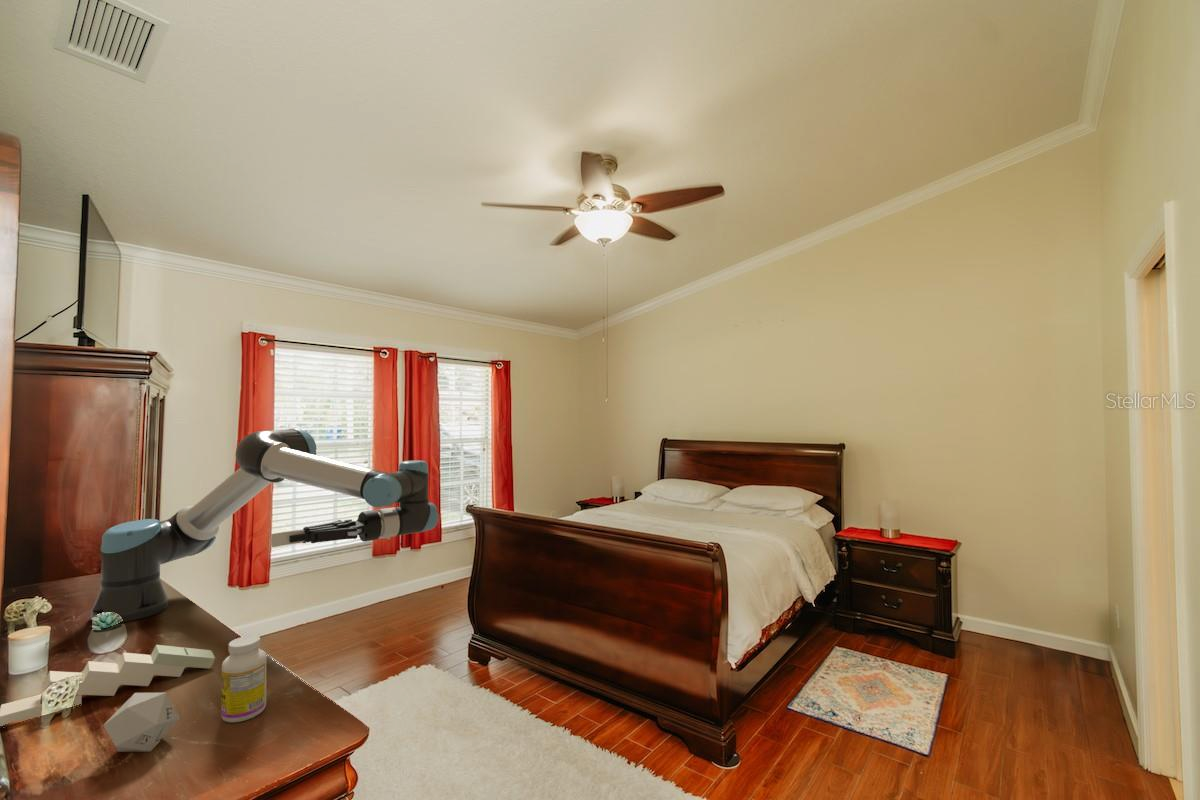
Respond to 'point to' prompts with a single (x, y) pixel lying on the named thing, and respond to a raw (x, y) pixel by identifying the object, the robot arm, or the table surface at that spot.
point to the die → (141, 722)
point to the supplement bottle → (243, 680)
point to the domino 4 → (182, 656)
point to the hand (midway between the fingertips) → (271, 540)
